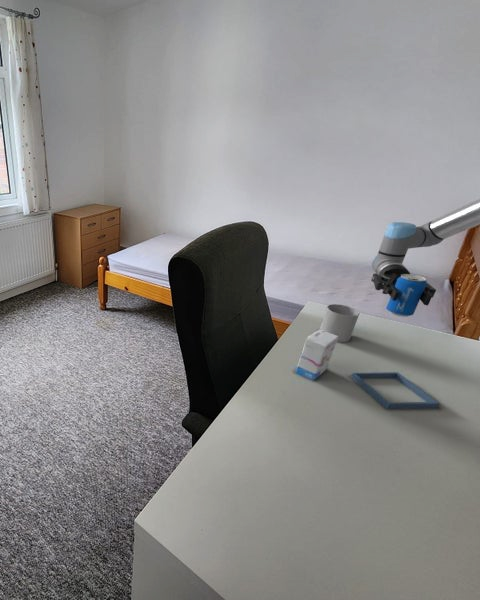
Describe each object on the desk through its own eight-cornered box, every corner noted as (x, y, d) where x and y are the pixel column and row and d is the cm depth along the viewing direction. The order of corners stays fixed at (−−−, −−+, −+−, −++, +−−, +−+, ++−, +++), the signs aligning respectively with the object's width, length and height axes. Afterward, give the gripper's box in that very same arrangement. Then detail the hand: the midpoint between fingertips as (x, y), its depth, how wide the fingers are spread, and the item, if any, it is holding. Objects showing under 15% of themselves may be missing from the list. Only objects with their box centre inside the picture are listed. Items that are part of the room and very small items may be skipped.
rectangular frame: (394, 378, 93) (397, 372, 92) (437, 410, 82) (440, 403, 81) (349, 378, 93) (352, 372, 92) (385, 410, 82) (388, 404, 81)
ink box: (313, 382, 92) (326, 345, 87) (294, 373, 95) (305, 337, 90) (327, 371, 96) (339, 335, 91) (307, 362, 100) (318, 327, 95)
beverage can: (383, 313, 106) (398, 277, 101) (386, 306, 110) (400, 272, 105) (411, 319, 102) (427, 282, 97) (413, 312, 106) (429, 277, 101)
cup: (324, 341, 110) (333, 314, 106) (314, 329, 117) (322, 303, 113) (354, 344, 108) (364, 317, 104) (342, 331, 115) (352, 305, 111)
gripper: (426, 289, 114) (451, 317, 96) (355, 279, 123) (366, 304, 105) (435, 268, 111) (463, 292, 93) (361, 260, 120) (374, 281, 102)
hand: (411, 298), depth 99 cm, fingers closed on beverage can, 6 cm apart
